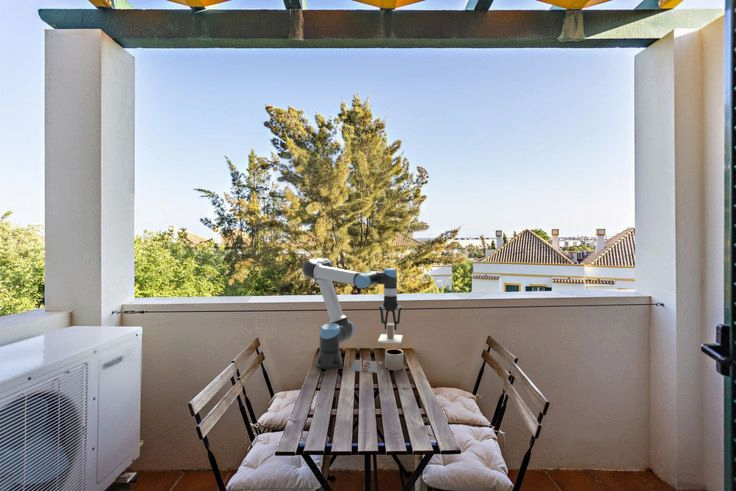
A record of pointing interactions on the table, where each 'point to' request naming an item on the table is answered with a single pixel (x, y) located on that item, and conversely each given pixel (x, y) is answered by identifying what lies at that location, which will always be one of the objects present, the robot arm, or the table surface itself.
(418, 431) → the table surface
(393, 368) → the planter
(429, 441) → the table surface
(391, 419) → the table surface
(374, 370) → the mat
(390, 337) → the lid
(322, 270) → the robot arm
